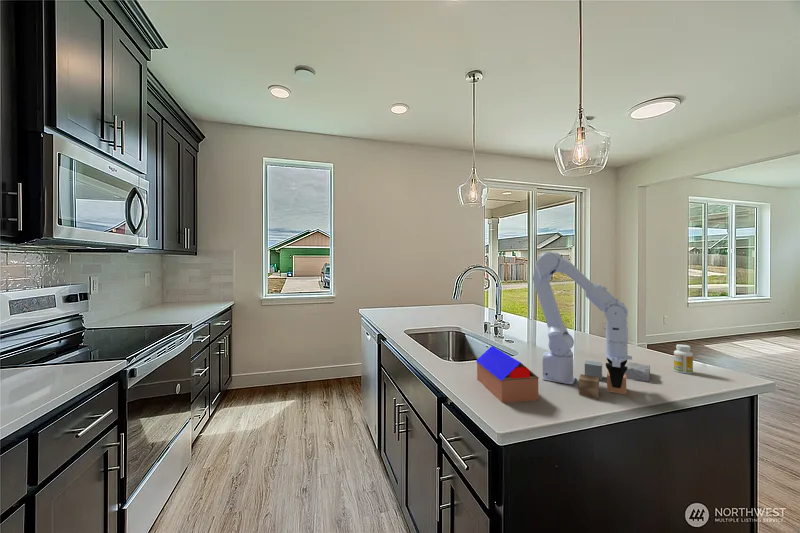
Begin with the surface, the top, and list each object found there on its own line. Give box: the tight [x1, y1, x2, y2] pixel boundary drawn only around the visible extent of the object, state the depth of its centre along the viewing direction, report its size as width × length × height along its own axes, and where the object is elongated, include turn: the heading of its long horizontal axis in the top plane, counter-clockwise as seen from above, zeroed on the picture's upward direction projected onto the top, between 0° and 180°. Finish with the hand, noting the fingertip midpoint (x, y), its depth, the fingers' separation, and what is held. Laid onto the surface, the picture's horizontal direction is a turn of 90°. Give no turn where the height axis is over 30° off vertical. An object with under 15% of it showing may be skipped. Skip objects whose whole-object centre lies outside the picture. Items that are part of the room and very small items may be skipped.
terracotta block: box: [606, 370, 627, 395], centre depth 105 cm, size 5×5×5 cm
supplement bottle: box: [673, 343, 694, 374], centre depth 122 cm, size 5×5×10 cm
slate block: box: [584, 359, 603, 381], centre depth 117 cm, size 5×5×5 cm
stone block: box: [625, 362, 651, 383], centre depth 119 cm, size 12×5×10 cm
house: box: [475, 345, 540, 403], centre depth 107 cm, size 12×20×12 cm, turn 8°
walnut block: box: [578, 374, 600, 399], centre depth 102 cm, size 5×5×5 cm
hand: (616, 384), depth 105 cm, fingers open, 6 cm apart
